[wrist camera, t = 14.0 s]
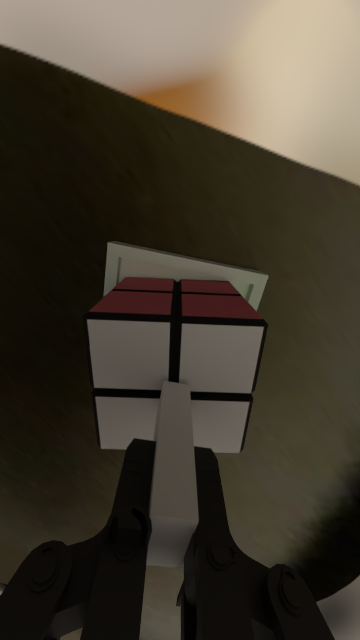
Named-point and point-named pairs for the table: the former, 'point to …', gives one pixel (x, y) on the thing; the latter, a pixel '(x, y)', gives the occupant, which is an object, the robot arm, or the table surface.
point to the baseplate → (178, 269)
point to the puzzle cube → (173, 358)
